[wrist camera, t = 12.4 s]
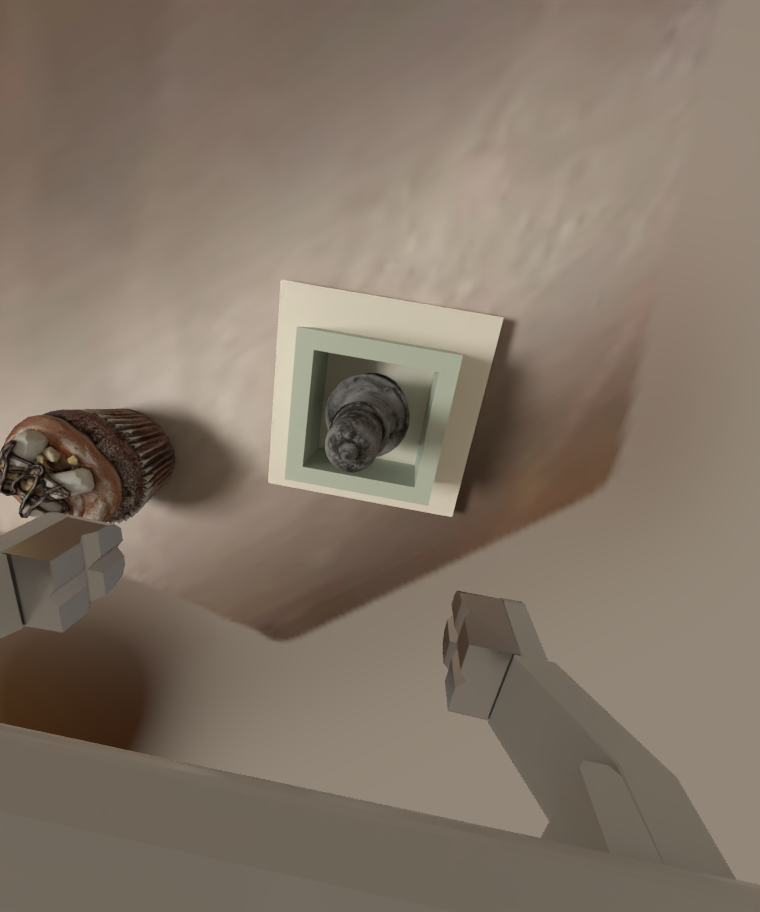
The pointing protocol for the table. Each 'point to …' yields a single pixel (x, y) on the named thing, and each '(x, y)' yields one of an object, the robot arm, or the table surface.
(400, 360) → the stand
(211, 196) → the table surface
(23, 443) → the cupcake
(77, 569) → the robot arm
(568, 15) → the table surface
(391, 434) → the dark chess piece
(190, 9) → the table surface
